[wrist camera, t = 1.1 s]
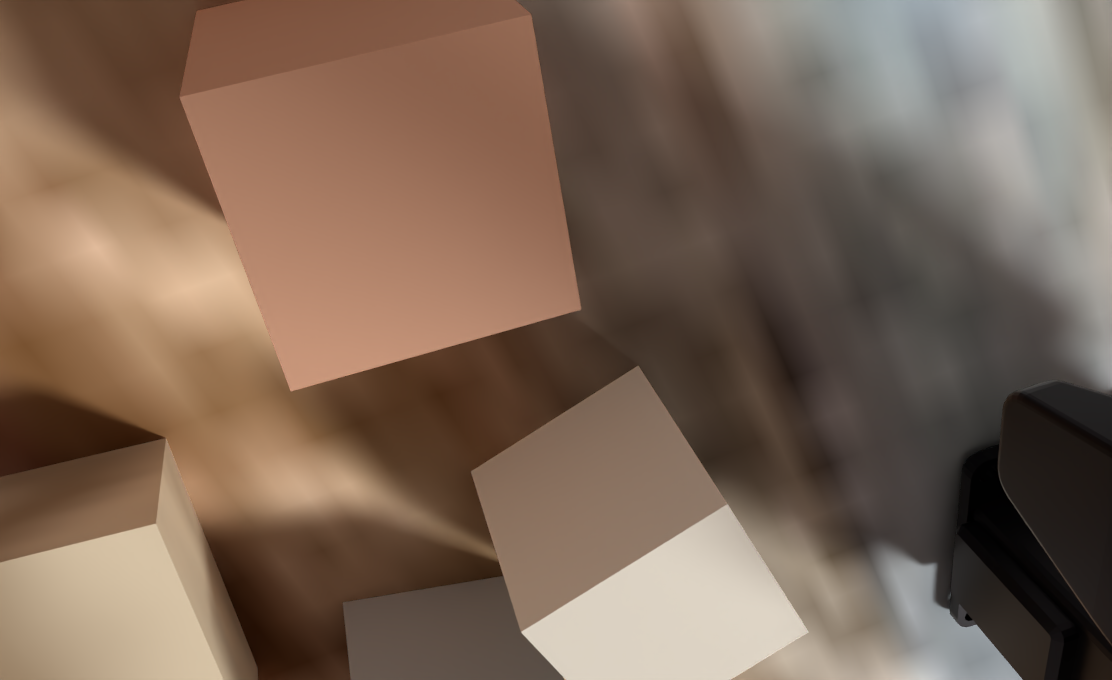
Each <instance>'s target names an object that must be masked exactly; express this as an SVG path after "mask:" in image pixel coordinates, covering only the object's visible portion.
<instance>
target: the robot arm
mask: <svg viewBox="0 0 1112 680" xmlns="http://www.w3.org/2000/svg"><path fill="white" fill-rule="evenodd" d="M950 614H951V616H952V617H953V618H954V619H955V620H956V622H957V623H958V624H959V625H960V626H962V627H969V626H973V625H976V624H977V626H978V627H979V628H980V629H981V630H982V631H983V633H984V634H985V635H986V636H987V637H988V639H989V640H990V641H991V642H992V643H993V645H994V646H995V647H996V648H997V649H998V650H999V652H1000V653H1001V654H1002V655H1003V656H1004V658H1005V659H1006V660H1007V661H1008V662H1009V664H1010V665H1011V666H1012V667H1013V668H1014V669H1015V671H1016V672H1017V673H1018V674H1019V675H1020V677H1021V678H1022V679H1023V680H1112V396H1110V395H1107V394H1104V393H1100V392H1097V391H1094V390H1090V389H1087V388H1084V387H1080V386H1077V385H1074V384H1070V383H1067V382H1063V381H1059V380H1051V381H1045V382H1042V383H1039V384H1036V385H1033V386H1030V387H1027V388H1024V389H1021V390H1018V391H1015V392H1013V393H1011V394H1010V395H1009V396H1008V397H1007V399H1006V401H1005V402H1004V405H1003V412H1002V422H1001V433H1000V444H999V445H997V446H994V447H991V448H988V449H985V450H982V451H979V452H977V453H975V454H973V455H972V456H971V457H969V458H968V459H967V461H966V462H965V463H964V465H963V468H962V474H961V485H960V497H959V508H958V519H957V531H956V535H955V546H954V558H953V569H952V581H951V599H950Z"/></svg>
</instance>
